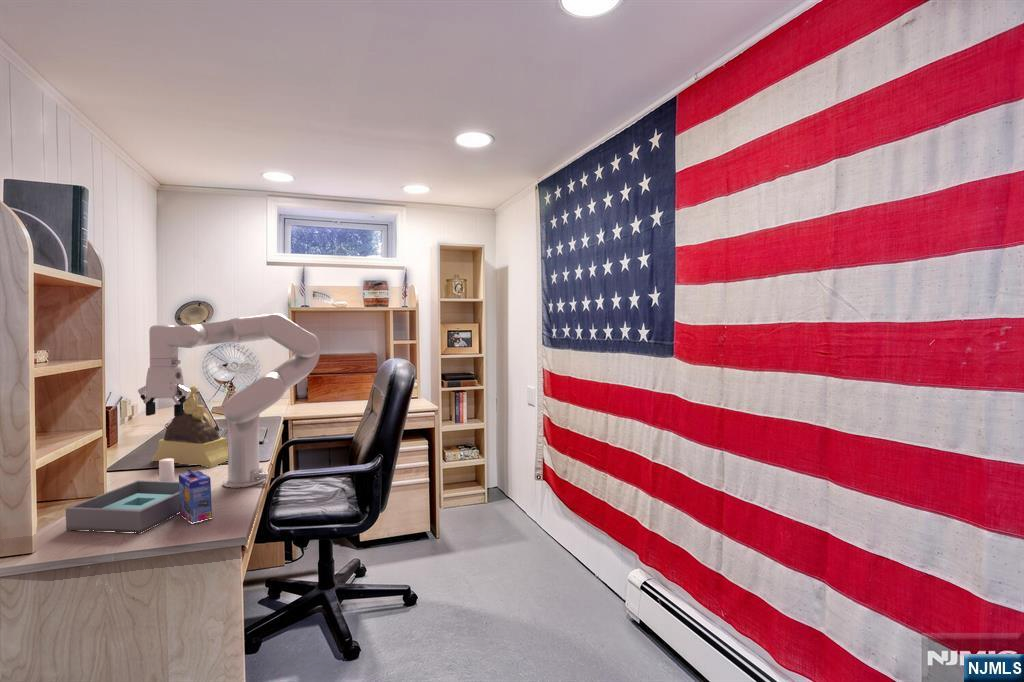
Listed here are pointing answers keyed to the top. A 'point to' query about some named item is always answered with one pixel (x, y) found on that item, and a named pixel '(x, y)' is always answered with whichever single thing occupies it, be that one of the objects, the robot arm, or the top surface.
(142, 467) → the top surface
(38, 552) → the top surface
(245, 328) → the robot arm
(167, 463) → the plug
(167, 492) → the storage box
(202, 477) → the ink cartridge box
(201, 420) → the statue on rock pedestal
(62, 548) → the top surface
